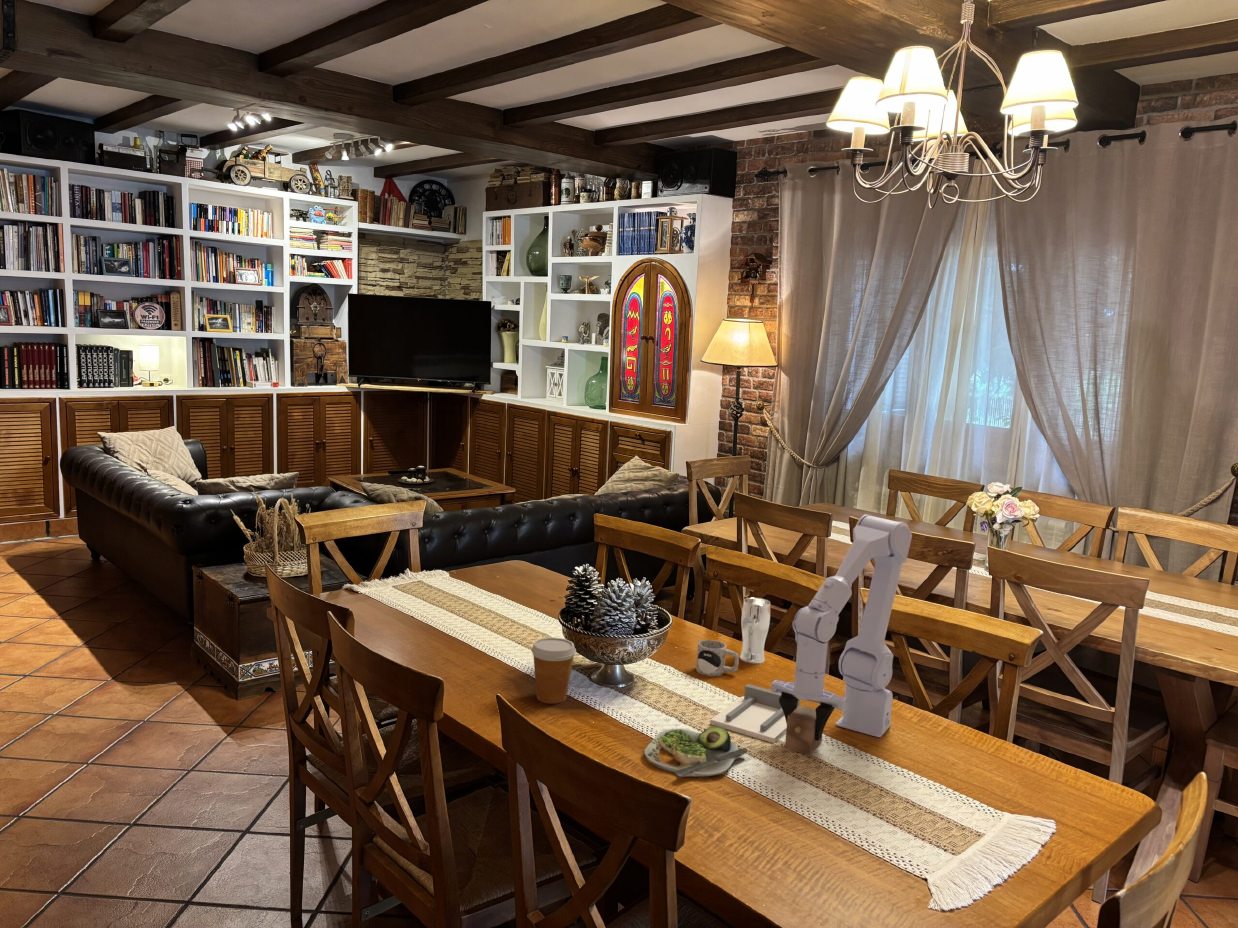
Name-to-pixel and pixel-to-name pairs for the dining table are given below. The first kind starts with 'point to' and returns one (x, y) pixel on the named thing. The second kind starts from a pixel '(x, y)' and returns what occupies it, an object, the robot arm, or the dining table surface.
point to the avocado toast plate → (695, 751)
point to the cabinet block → (802, 730)
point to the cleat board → (755, 715)
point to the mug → (714, 658)
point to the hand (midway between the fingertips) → (804, 734)
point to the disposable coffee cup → (552, 668)
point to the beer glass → (754, 629)
